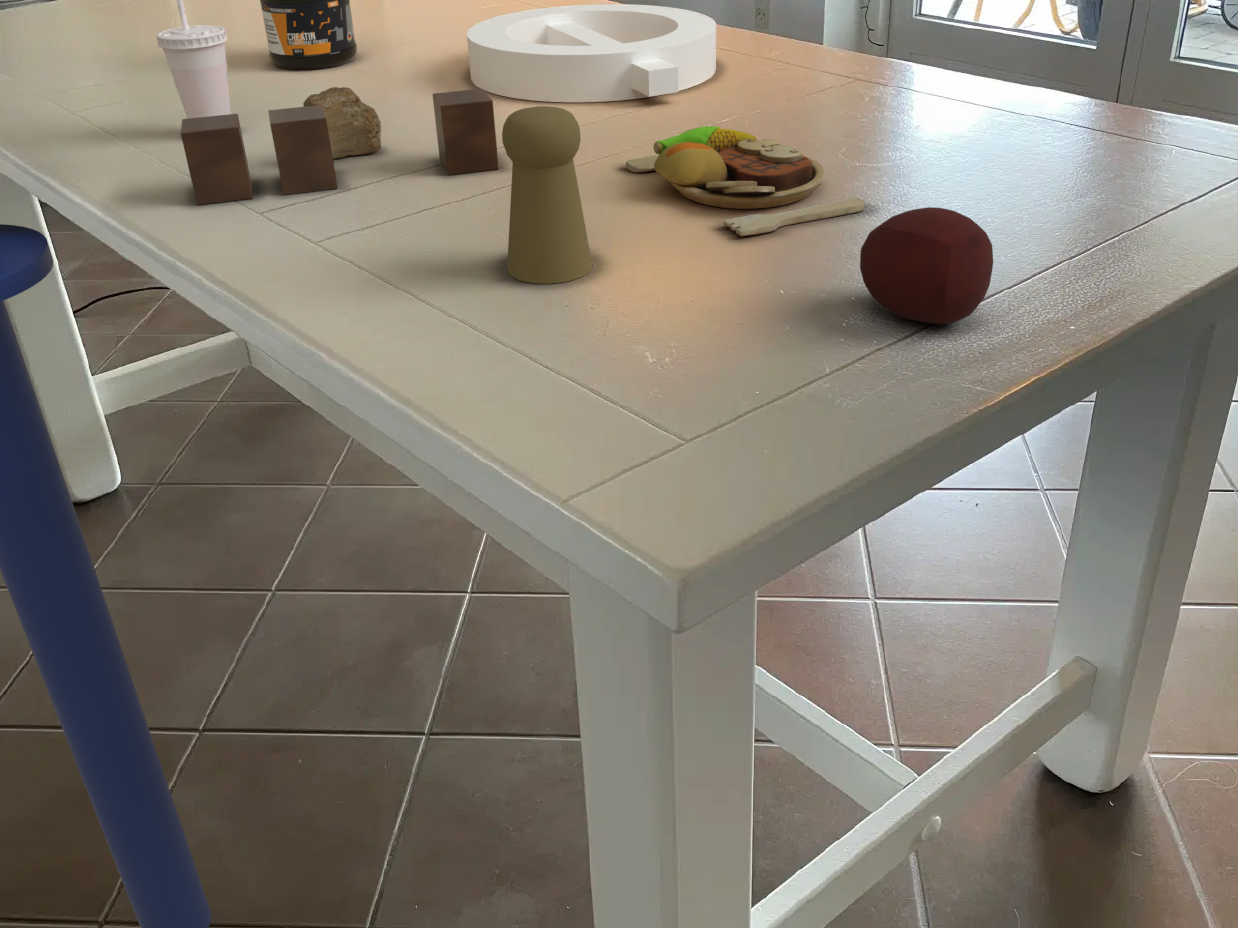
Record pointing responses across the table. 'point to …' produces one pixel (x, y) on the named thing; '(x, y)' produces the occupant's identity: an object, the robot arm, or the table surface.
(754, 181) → the toy food set
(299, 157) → the block
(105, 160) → the table surface
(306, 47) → the supplement container
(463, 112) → the block
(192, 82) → the smoothie
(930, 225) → the potato
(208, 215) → the table surface
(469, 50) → the white circle with bar
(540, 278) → the olive round-topped cone
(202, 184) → the block
